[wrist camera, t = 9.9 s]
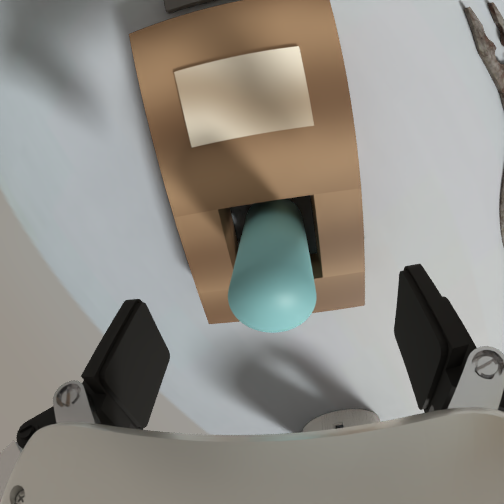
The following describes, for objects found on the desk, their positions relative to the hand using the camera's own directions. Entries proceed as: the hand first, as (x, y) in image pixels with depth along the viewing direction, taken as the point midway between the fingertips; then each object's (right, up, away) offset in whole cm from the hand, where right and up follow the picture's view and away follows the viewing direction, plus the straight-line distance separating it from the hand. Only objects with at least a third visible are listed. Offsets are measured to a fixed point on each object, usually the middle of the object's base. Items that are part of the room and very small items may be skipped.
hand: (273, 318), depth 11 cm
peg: (+1, +4, +9) cm, 10 cm away
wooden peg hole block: (0, +8, +7) cm, 10 cm away
